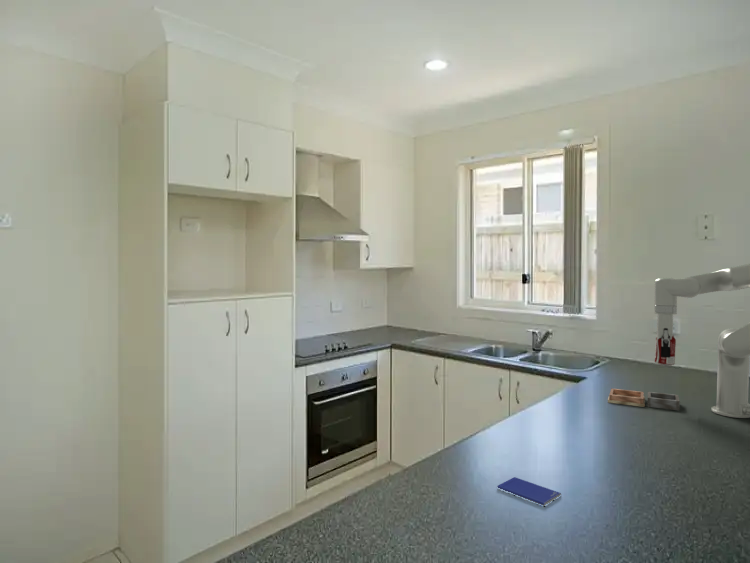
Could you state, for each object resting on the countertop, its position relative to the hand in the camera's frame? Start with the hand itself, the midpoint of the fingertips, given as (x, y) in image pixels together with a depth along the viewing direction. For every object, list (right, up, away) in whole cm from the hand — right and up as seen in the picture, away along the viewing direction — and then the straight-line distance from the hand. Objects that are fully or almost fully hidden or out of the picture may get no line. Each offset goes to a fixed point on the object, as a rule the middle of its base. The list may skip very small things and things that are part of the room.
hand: (665, 355), depth 198 cm
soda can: (0, -4, 0) cm, 4 cm away
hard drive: (-76, -23, -76) cm, 110 cm away
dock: (-6, -20, +4) cm, 21 cm away
